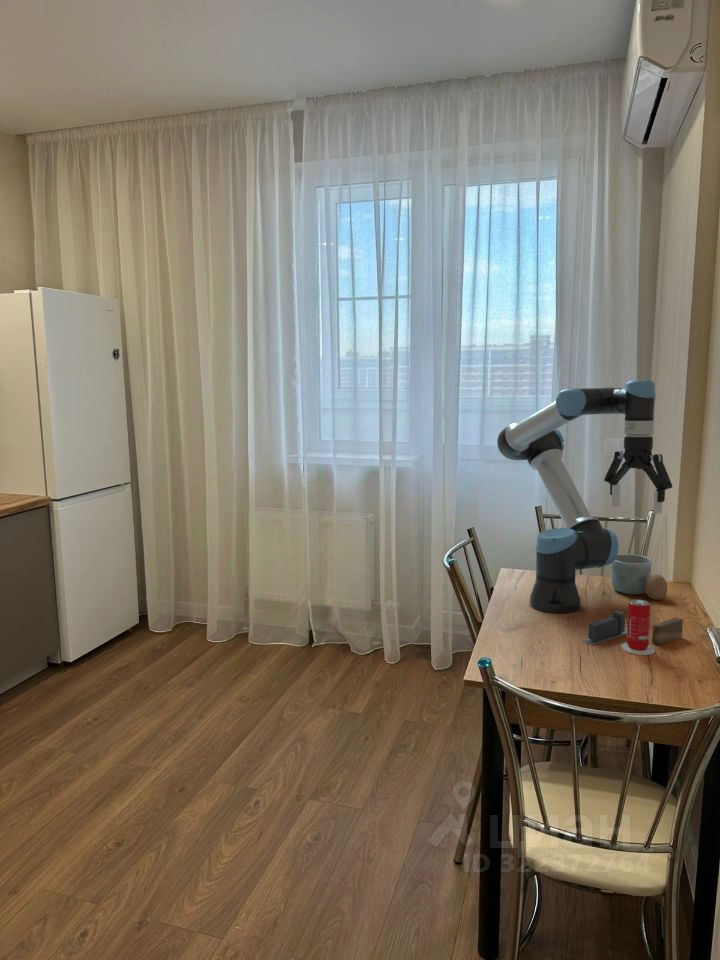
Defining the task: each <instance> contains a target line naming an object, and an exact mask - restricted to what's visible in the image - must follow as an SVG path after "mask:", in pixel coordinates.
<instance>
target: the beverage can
mask: <svg viewBox="0 0 720 960" xmlns="http://www.w3.org/2000/svg"><path fill="white" fill-rule="evenodd" d="M628 602H629V603H628V604H627V622H626V623H627V625H626V626H627V634H626V642H627V644H628V647H629V648H630V649H633V650H637V651H644V650H646V649H647V647H648V645H650V626H649V625H651V624H650V623H651V622H650V619H651V618H650V617H651V616H650V615H651V606H650V602H648V601H647V600H644V599H638V598H637V599H630V600H629V601H628Z"/></svg>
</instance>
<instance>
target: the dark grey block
mask: <svg viewBox="0 0 720 960" xmlns="http://www.w3.org/2000/svg"><path fill="white" fill-rule="evenodd" d="M625 627H626V612H623V611H620V610H614V611H612V614H611V616H610V617H607V618H604V619H600V620H597V621H596V620H595V621H593V622H590V623H588V636H587V637H588V638H589V639H592V640H594V641H595V640H598V639H601V638H604V637H607V636H610V635H613V634H616V633H622V632H625ZM588 638H587V639H588Z"/></svg>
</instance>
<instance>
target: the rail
mask: <svg viewBox="0 0 720 960" xmlns="http://www.w3.org/2000/svg"><path fill="white" fill-rule="evenodd" d="M651 626H652V624H650V625H649V627H651ZM625 635H627V625H625V632H622V633H616V634H613V635H610V636H607V637H604V638H601V639H598V640H595V641H594V640H592V639H589V638H584V639H583V640H581V642H582V643H584V642H585V644H587V643H588V644H587V645H590V644H591V645H590V646H594V645H597V644H601V643H603V642H606V641H609V640H612V639H615V638H619V637H621V636H625ZM596 643H597V644H596ZM593 644H594V645H593Z"/></svg>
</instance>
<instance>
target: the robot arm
mask: <svg viewBox="0 0 720 960" xmlns="http://www.w3.org/2000/svg"><path fill="white" fill-rule="evenodd" d="M655 400H656V388H655V382H654V381H653V380H652V379H650V380H649V379H648V380H647V379H645V380H644V379H643V380H638V379H636V380H628V381H626V383H625V387H610V386H609V387H602V388H601V387H597V388H594V387H593V388H591V387H590V388H589V387H587V388H577V387H575V388H567V389H563V390H561V391H559V393H558V395H557V396H556V398H555V401H553V402H551V403H550V404H548V405H547V406H545V407H544V408H541V409H540V410H538V411H537V412H535V413H533V414H532V415H530V416H528V417H527V418H526V419H523V420H522V421H520V422H512V423H511V424H509V425H508V426H506V427H504V428H503V429H502V430H501V431H500V432H499V434H498V436H497V441H496V444H497V448H498V451H499V452H500V454H501V455H502V456H503V457H505V458H506V459H509V460H511V461H527V463H528V464H529V466H530V469H532V470H533V471H537V472H538V474H539V476H540V478H541V480H542V482H543V484H544V486H545V488H546V490H547V492H548V494H549V497H550V499H551V501H552V503H553V504H554V506H555V508H556V511H557V513H558V514H559V516H560V518H561V521H562V522H563V524H564V526H565V527H560V528H549V529H545V530H543V531H541V532H540V533H539V534H538V535H537V539H536V546H535V550H536V560H535V561H536V566H535V569H536V572H535V581H534V585H533V587H532V591H531V594H530V596H529V605H530V604H531V605H530V607H532V606H533V607H532V608H534V609H535V610H539V611H543V612H548V613H552V614H554V613H556V614H567V613H569V614H570V613H573V612H576V611H579V610H580V609H581V607H582V599H581V597H580V594H579V590H578V587H577V583H576V575H577V574H576V572H577V571H579V570H581V571H582V570H586V569H594V568H597V569H598V568H602V567H607V566H608V565H611V563H612V562H613V561H614V560H615V559H616V557H617V555H619V540H618V537H617V535H616V533H615V532H614V531H613V530H612V529H609V528H608V527H605V528H604V527H603V525H602V524H601V522H600V520H599V519H598V518H595V517H592V515H591V513H590V512H589V509H588V508H587V506H586V504H585V502H584V500H583V498H582V495H580V492H579V490H578V489H577V487H576V485H575V483H574V481H573V480H572V477H571V475H570V474H569V471H568V469H567V468H566V466H565V464H564V462H563V460H562V459H563V456H564V449H565V444H564V442H565V440H564V436H563V435H562V433H561V431H560V429H559V428H562V426H565V425H566V424H568V423H570V422H571V421H574V420H575V419H578V418H579V417H582V416H588V415H610V414H611V415H612V414H615V415H617V414H618V415H619V414H620V415H622V414H623V415H624V434H625V435H626V436H624V438H623V449H624V451H623V450H618V451H614V456H613V459H612V462H611V464H610V466H609V468H608V470H607V472H606V474H605V475H604V477H603V478H604V480H603V481H604V482H605V483H606V482H607V483H608V484H609V494H610V496H611V508H618V507H620V505H621V484H620V482H621V480H622V479H623V477H624V476H625V475H626V474H627V473H628V472H629V470H630V469H636V470H642V471H644V472H645V473H646V475H647V476H648V478H649V480H650V481H651V482H652V485H653V486H654V487H655V488H656V489H655V490H654V491H653V507H652V508H653V511H652V514H653V515H659V514H662V513H663V503H664V502H665V500H666V499H665V498H666V491H667V490H669V489H672V488H673V484H672V481H671V479H670V476H669V474H668V471H667V468H666V467H665V464H664V458H663V454H662V453H659V454H658V453H657V454H656V453H655V454H653V453H652V451H653V448H654V447H653V446H654V437H653V436H652V435H653V434H654V426H655V424H654V423H655V422H654V421H655V420H654V419H655V418H654V416H655V415H654V414H655ZM623 459H624V462H623ZM622 462H623V463H622ZM620 466H621V467H620Z"/></svg>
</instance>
